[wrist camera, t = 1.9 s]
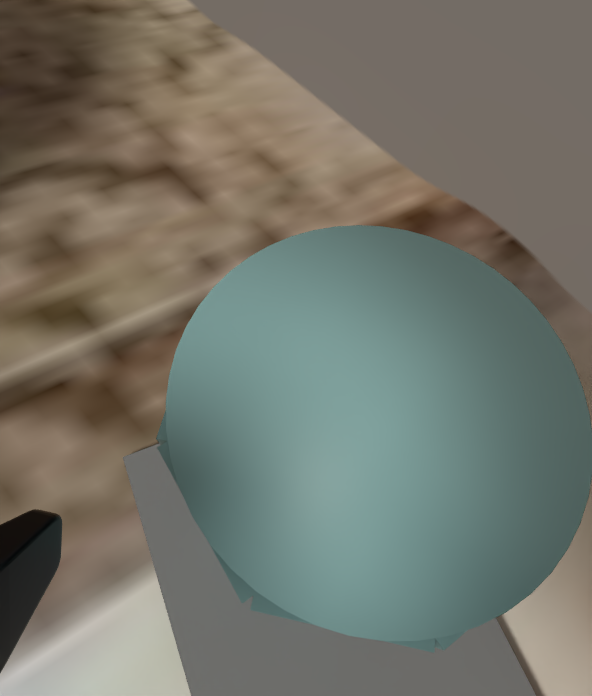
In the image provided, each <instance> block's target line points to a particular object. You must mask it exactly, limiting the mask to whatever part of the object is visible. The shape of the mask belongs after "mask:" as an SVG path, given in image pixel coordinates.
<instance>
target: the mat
mask: <svg viewBox="0 0 592 696" xmlns="http://www.w3.org/2000/svg"><path fill="white" fill-rule="evenodd" d="M158 446H160V443H159V444H156V445H154V446H151V447H148V448H146V449H143V450H140V451H138V452H135V453H133V454H130V455H127V456H125V457H123V459H124V463H125V466H126V470H127V473H128V477H129V480H130V484H131V487H132V491H133V494H134V498H135V501H136V505H137V508H138V512H139V515H140V519H141V522H142V526H143V529H144V533H145V536H146V540H147V543H148V546H149V550H150V553H151V557H152V560H153V564H154V567H155V571H156V574H157V578H158V581H159V585H160V588H161V592H162V595H163V599H164V602H165V606H166V609H167V613H168V616H169V620H170V623H171V627H172V630H173V633H174V637H175V640H176V644H177V647H178V651H179V654H180V658H181V661H182V665H183V668H184V672H185V675H186V679H187V682H188V686H189V689H190V693H191V696H536V694H535V692H534V690H533V688H532V686H531V685H530V683H529V681H528V679H527V677H526V675H525V673H524V671H523V669H522V667H521V665H520V663H519V661H518V659H517V658H516V656H515V654H514V652H513V650H512V648H511V646H510V644H509V642H508V640H507V638H506V636H505V634H504V632H503V631H502V629H501V627H500V625H499V623H498V621H497V619H496V618H494V619H492V620H490V621H488V622H486V623H484V624H482V625H480V626H478V627H475V628H472V629H469V630H467V631H466V632H465V633H464V634H463V635H462V636H460V637H459V638H458V639H457V640H456V641H455V642H453V643H452V644H451V645H450V646H449V647H448V648H446V649H445V650H444V651H443V650H441V649H438V648H436V647H435V651H434V653H432V652H428V651H424V650H419V649H415V648H411V647H406V646H402V645H398V644H394V643H389V642H385V641H379V640H373V639H366V638H360V637H354V636H348V635H345V634H342V633H338V632H335V631H332V630H329V629H325V628H322V627H319V626H316V625H312V624H308V623H303V622H299V621H295V620H291V619H286V618H282V617H278V616H273V615H269V614H265V613H260V612H256V611H252V610H250V609H251V604H252V600H253V596H252V597H251V598H249V599H248V600H247V601H245V602H244V603H241V601H240V599H239V597H238V595H237V594H236V592H235V590H234V588H233V586H232V584H231V583H230V581H229V579H228V577H227V575H226V573H225V572H224V570H223V568H222V566H221V564H220V562H219V560H218V559H217V557H216V555H215V553H214V551H213V549H212V548H211V546H210V544H209V542H208V540H207V539H206V537H205V536H204V534H203V533H202V531H201V529H200V528H199V526H198V525H197V523H196V522H195V520H194V518H193V517H192V515H191V513H190V510H189V508H188V506H187V504H186V502H185V500H184V497H183V495H182V493H181V491H180V489H179V487H178V485H177V483H176V482H175V480H174V478H173V476H172V474H171V472H170V471H169V469H168V467H167V465H166V463H165V461H164V460H163V458H162V456H161V454H160V452H159V450H158V449H157V447H158Z"/></svg>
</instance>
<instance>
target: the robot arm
mask: <svg viewBox="0 0 592 696" xmlns="http://www.w3.org/2000/svg"><path fill="white" fill-rule="evenodd" d="M61 540H62V519H61V517H60V516H59V515H58V514H55V513H51V512H47V511H42V510H31V511H28V512H26V513H24V514H22V515H20V516H18V517H16V518H14V519H12V520H10V521H7V522H5V523H3V524H1V525H0V673H1V671H2V669H3V668H4V666H5V664H6V662H7V661H8V659H9V657H10V655H11V653H12V652H13V650H14V648H15V646H16V644H17V642H18V641H19V639H20V637H21V635H22V633H23V631H24V630H25V628H26V626H27V624H28V622H29V620H30V619H31V617H32V615H33V613H34V611H35V609H36V608H37V606H38V604H39V602H40V600H41V598H42V597H43V595H44V593H45V591H46V589H47V587H48V586H49V584H50V582H51V580H52V578H53V576H54V575H55V573H56V570H57V568H58V566H59V562H60V558H61Z"/></svg>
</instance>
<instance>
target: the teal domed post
mask: <svg viewBox="0 0 592 696" xmlns="http://www.w3.org/2000/svg"><path fill="white" fill-rule="evenodd" d="M156 439H157V440H158V442H159V443H160V446H158V447H157V449H158V450H159V452H160V454H161V456H162V458H163V460H164V461H165V463H166V465H167V467H168V469H169V471H170V472H171V474H172V476H173V478H174V480H175V482H176V483H177V485H178V487H179V489H180V491H181V493H182V495H183V497H184V500H185V502H186V504H187V506H188V508H189V510H190V513H191V515H192V517H193V518H194V520H195V522H196V523H197V525H198V526H199V528H200V529H201V531H202V533H203V534H204V536H205V537H206V539H207V540H208V542H209V544H210V546H211V548H212V549H213V551H214V553H215V555H216V557H217V559H218V560H219V562H220V564H221V566H222V568H223V570H224V572H225V573H226V575H227V577H228V579H229V581H230V583H231V584H232V586H233V588H234V590H235V592H236V594H237V595H238V597H239V599H240V601H241V603H244V602H245V601H247V600H248V599H249V598H251V597H252V596H253V600H252V604H251V609H250V610H252V611H256V612H260V613H265V614H269V615H273V616H278V617H282V618H286V619H291V620H295V621H299V622H303V623H308V624H312V625H316V626H319V627H322V628H325V629H329V630H332V631H335V632H338V633H342V634H345V635H348V636H354V637H360V638H366V639H373V640H379V641H385V642H389V643H394V644H398V645H402V646H406V647H411V648H415V649H419V650H424V651H428V652H432V653H434V651H435V647H436V648H438V649H441V650H443V651H444V650H445V649H446V648H448V647H449V646H450V645H451V644H452V643H453V642H455V641H456V640H457V639H458V638H459V637H460V636H462V635H463V634H464V633H465V632H466V631H467V630H469V629H472V628H475V627H478V626H480V625H482V624H484V623H486V622H488V621H490V620H492V619H494V618H496V617H498V616H500V615H502V614H504V613H506V612H507V611H508V610H510V609H511V608H513V607H514V606H515V605H517V604H518V603H519V602H521V601H522V600H523V599H525V598H526V597H527V596H529V595H530V594H531V593H532V592H533V591H534V590H535V589H536V588H537V587H538V586H539V585H540V584H541V583H542V582H543V581H544V580H545V579H546V578H547V577H548V576H549V575H550V574H551V573H552V571H553V570H554V568H555V567H556V565H557V564H558V562H559V561H560V560H561V558H562V557H563V555H564V554H565V552H566V551H567V550H568V548H569V546H570V544H571V542H572V539H573V537H574V535H575V533H576V531H577V529H578V527H579V525H580V523H581V519H582V516H583V513H584V510H585V506H586V503H587V500H588V497H589V490H590V484H591V477H592V429H591V421H590V414H589V410H588V406H587V402H586V398H585V394H584V390H583V388H582V385H581V382H580V380H579V377H578V375H577V372H576V369H575V367H574V364H573V362H572V361H571V359H570V357H569V355H568V353H567V351H566V349H565V347H564V345H563V343H562V342H561V340H560V339H559V337H558V336H557V334H556V333H555V331H554V330H553V328H552V327H551V325H550V324H549V322H548V321H547V320H546V318H545V317H544V316H543V315H542V314H541V313H540V311H539V310H538V309H537V308H536V307H535V305H534V304H533V303H532V302H531V301H530V300H529V299H528V298H527V297H526V296H525V295H524V294H523V293H522V292H521V291H520V290H519V289H518V288H517V287H516V286H515V285H513V284H512V283H511V282H510V281H509V280H507V279H506V278H505V277H503V276H502V275H501V274H500V273H498V272H497V271H496V270H494V269H493V268H492V267H490V266H488V265H487V264H485V263H484V262H482V261H480V260H479V259H477V258H476V257H474V256H472V255H470V254H468V253H466V252H464V251H462V250H460V249H458V248H456V247H454V246H452V245H450V244H447V243H445V242H442V241H439V240H437V239H434V238H432V237H429V236H425V235H422V234H418V233H414V232H410V231H406V230H401V229H394V228H388V227H381V226H362V225H356V226H338V227H331V228H324V229H318V230H313V231H309V232H306V233H302V234H299V235H295V236H292V237H289V238H287V239H284V240H282V241H279V242H277V243H275V244H272V245H270V246H268V247H266V248H264V249H263V250H261V251H259V252H257V253H256V254H254V255H252V256H250V257H249V258H247V259H246V260H245V261H243V262H242V263H241V264H239V265H238V266H237V267H235V268H234V269H232V270H231V271H230V272H229V273H228V274H227V275H226V276H225V277H224V278H223V279H222V280H221V281H220V282H219V283H218V284H216V285H215V286H214V287H213V289H212V290H211V291H210V292H209V294H208V295H207V296H206V297H205V299H204V300H203V301H202V302H201V304H200V305H199V306H198V308H197V310H196V311H195V313H194V315H193V316H192V318H191V320H190V321H189V323H188V325H187V326H186V328H185V331H184V333H183V335H182V338H181V340H180V342H179V345H178V347H177V349H176V353H175V356H174V360H173V364H172V367H171V371H170V375H169V382H168V389H167V397H166V411H165V414H164V417H163V420H162V423H161V426H160V429H159V432H158V435H157V438H156Z"/></svg>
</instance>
